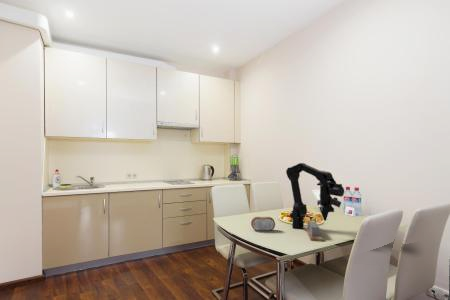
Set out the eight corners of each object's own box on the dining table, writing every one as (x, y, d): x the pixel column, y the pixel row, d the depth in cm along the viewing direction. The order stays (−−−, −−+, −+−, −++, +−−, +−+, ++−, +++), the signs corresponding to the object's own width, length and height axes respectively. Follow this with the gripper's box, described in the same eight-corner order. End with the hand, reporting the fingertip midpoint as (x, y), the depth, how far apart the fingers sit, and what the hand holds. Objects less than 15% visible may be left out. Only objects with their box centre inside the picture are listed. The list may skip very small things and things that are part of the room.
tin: (274, 229, 161) (274, 216, 161) (275, 231, 158) (275, 217, 158) (250, 229, 161) (251, 216, 161) (251, 231, 158) (251, 217, 158)
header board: (310, 240, 142) (310, 229, 142) (305, 229, 161) (305, 220, 161) (323, 241, 141) (323, 230, 141) (317, 230, 159) (317, 220, 159)
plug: (312, 235, 146) (312, 227, 146) (308, 229, 158) (308, 221, 158) (319, 236, 145) (319, 227, 145) (315, 229, 157) (315, 221, 157)
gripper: (344, 197, 137) (343, 226, 137) (336, 191, 156) (336, 217, 156) (322, 196, 139) (322, 224, 140) (317, 190, 158) (317, 215, 158)
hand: (325, 220), depth 148 cm, fingers closed
